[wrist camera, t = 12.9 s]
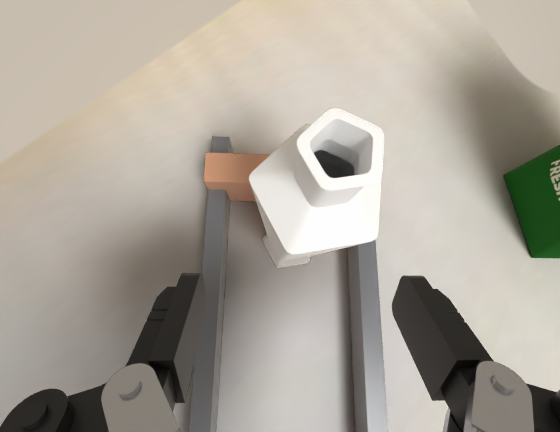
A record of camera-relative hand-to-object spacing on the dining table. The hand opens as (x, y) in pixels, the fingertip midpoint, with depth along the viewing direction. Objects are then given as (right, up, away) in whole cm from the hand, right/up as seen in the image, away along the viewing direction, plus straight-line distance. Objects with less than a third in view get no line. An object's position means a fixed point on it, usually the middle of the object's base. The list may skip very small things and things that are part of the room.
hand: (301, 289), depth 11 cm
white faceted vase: (0, +1, +10) cm, 10 cm away
